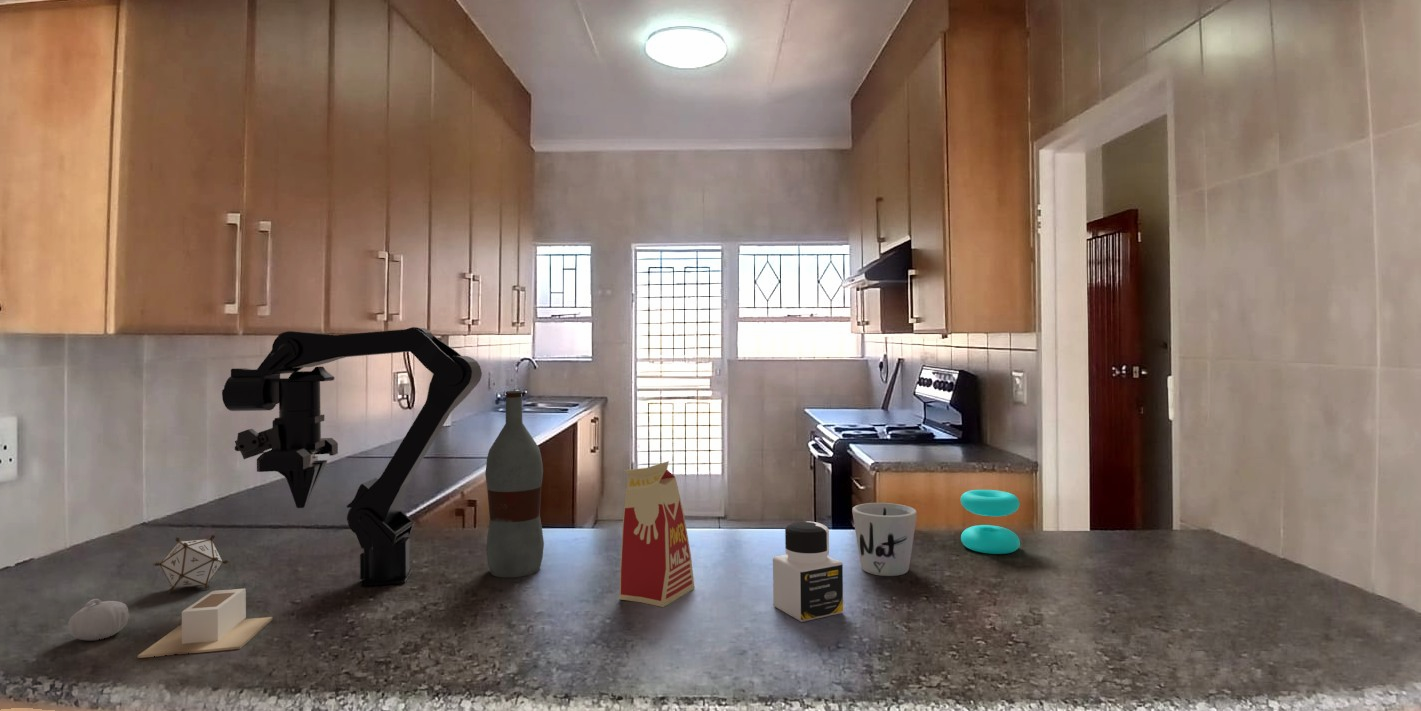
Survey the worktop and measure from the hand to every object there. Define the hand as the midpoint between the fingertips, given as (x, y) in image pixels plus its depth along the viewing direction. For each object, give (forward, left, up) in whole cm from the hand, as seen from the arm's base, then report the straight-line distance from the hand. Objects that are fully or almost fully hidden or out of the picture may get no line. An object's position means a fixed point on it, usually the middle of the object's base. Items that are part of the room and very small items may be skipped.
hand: (301, 507), depth 112 cm
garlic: (+18, +18, -12) cm, 28 cm away
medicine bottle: (-74, +31, -12) cm, 81 cm away
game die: (+16, -1, -12) cm, 20 cm away
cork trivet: (+4, +21, -12) cm, 25 cm away
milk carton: (-54, +19, -12) cm, 59 cm away
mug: (-94, +15, -12) cm, 96 cm away
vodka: (-33, +2, -12) cm, 35 cm away
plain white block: (+4, +16, -10) cm, 19 cm away
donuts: (-117, +10, -12) cm, 118 cm away
